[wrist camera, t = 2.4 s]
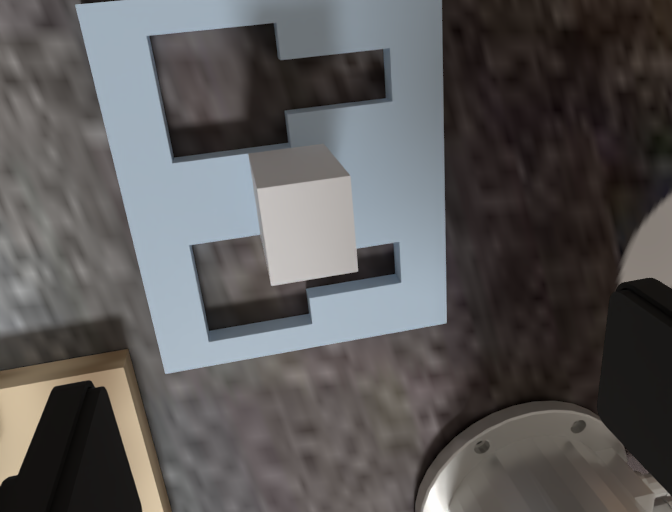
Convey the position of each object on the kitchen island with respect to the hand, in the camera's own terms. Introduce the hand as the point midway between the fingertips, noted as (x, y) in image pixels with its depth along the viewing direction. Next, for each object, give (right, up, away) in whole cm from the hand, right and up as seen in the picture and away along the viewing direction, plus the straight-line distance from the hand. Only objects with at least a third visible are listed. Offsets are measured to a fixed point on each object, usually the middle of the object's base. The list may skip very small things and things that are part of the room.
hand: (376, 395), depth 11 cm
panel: (-3, +6, +14) cm, 15 cm away
